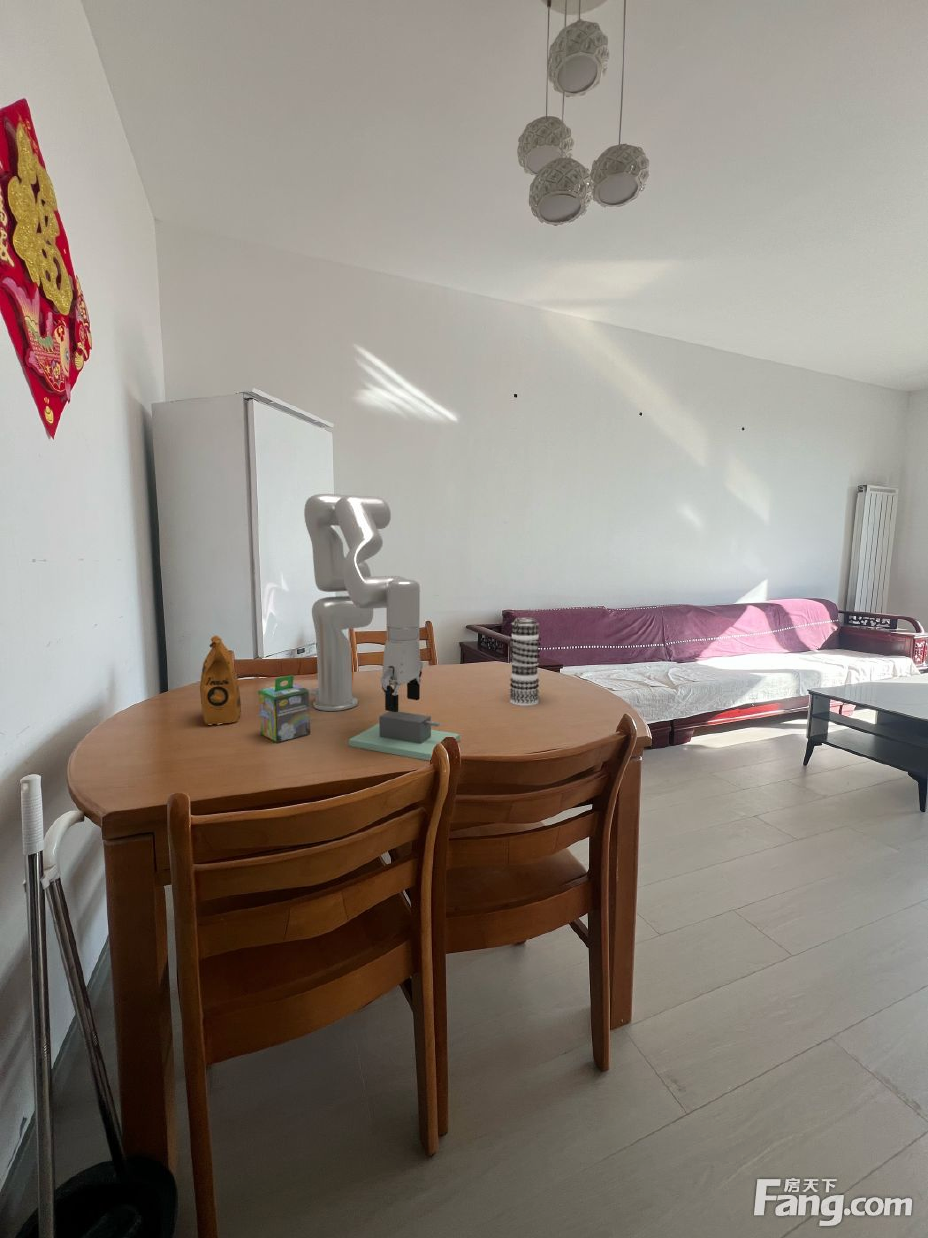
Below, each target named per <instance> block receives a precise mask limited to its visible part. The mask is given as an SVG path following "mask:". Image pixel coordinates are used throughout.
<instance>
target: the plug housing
mask: <svg viewBox="0 0 928 1238" xmlns="http://www.w3.org/2000/svg"><path fill="white" fill-rule="evenodd" d="M378 718H379V720H378V721H379V722H378V724H379V728H380V737H383V738H389V739H395V740H400V741H406V742H412V743H418V744H421V743H423V742H424V741H426V740H427V739H429V738H430V737H431V730H432V727H439V726H440V722H438V721H432V716H430V715H422V714H416V713H409V712H404V711H398V712H391V711H386V712H384V713H383V714H381V715H379V716H378Z"/></svg>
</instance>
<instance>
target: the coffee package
mask: <svg viewBox="0 0 928 1238" xmlns="http://www.w3.org/2000/svg"><path fill="white" fill-rule="evenodd" d="M210 640H211V643H210V644H209V648H210V651H209V652H208V653H207V655H206V656H205V658H204V661H203V663H202V669H201V676H200V683H199V684H200V686H199V693H200V702H201V703H200V704H201V709H202V716H203V721H204V724H206V725H207V724H218V723H231V722H236V721H237V720H238V721H239V718H240V716H241V714H242V703H241V702H242V700H241V692H240V685H239V680H238V675H237V671H236V667H235V664H234V660H233V657H232V655H231V653H230V650H229V649H228V648H227V647H226V646H225V645H224V643H223V642H222V640H223V639H222V638H221V637H220V636H218V635H213V636H211V638H210ZM238 721H237V722H238Z"/></svg>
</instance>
